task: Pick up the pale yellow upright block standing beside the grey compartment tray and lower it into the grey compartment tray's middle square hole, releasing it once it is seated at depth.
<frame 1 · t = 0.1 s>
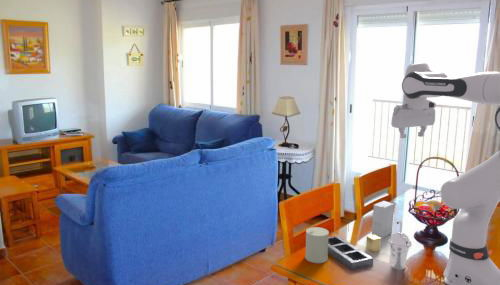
hand: (412, 137, 178), 48 cm above the table, fingers open, 8 cm apart
cup with straw: (397, 267, 168), on the table
grey compartment tray: (344, 255, 179), on the table
pale yellow upright block: (372, 250, 183), on the table
can: (316, 258, 176), on the table
skincare box: (381, 234, 200), on the table
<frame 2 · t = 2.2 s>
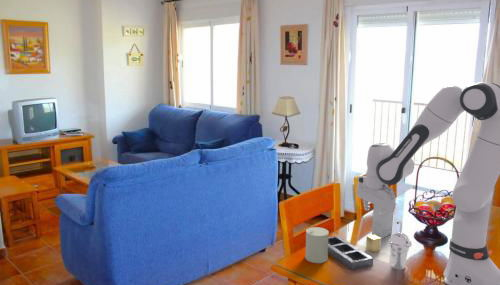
hand: (374, 213, 180), 16 cm above the table, fingers open, 8 cm apart
nothing on the table moved.
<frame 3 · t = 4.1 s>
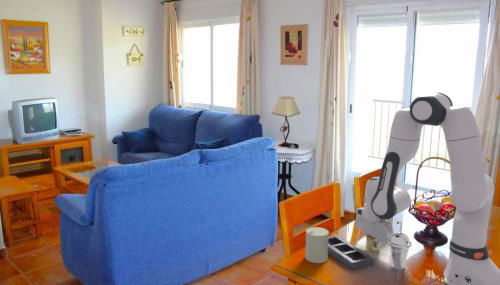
hand: (373, 245, 183), 2 cm above the table, fingers closed on pale yellow upright block, 4 cm apart
pale yellow upright block: (372, 250, 183), on the table, touching gripper
everything else where it was.
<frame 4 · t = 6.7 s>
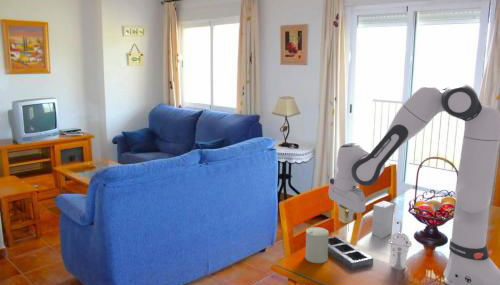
hand: (345, 216, 175), 17 cm above the table, fingers closed on pale yellow upright block, 4 cm apart
pale yellow upright block: (345, 221, 176), point 15 cm above the table, touching gripper
everything else where it was.
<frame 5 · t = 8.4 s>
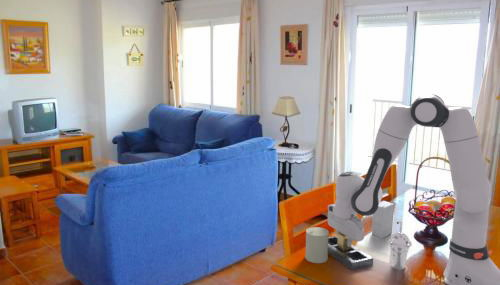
hand: (344, 243, 178), 5 cm above the table, fingers closed on pale yellow upright block, 4 cm apart
pale yellow upright block: (344, 248, 178), point 3 cm above the table, touching gripper
everything else where it was.
when the fingers open (5 cm above the table, at t = 9.3 s): pale yellow upright block drops 3 cm, resting in grey compartment tray.
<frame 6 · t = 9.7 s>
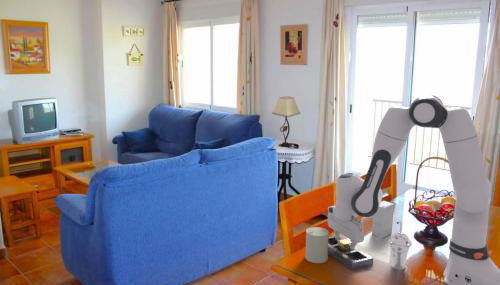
hand: (344, 244, 178), 5 cm above the table, fingers open, 8 cm apart
pale yellow upright block: (344, 255, 178), resting in grey compartment tray
everything else where it was.
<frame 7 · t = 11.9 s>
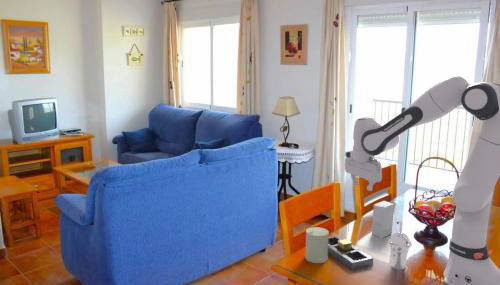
hand: (362, 187, 183), 26 cm above the table, fingers open, 8 cm apart
nothing on the table moved.
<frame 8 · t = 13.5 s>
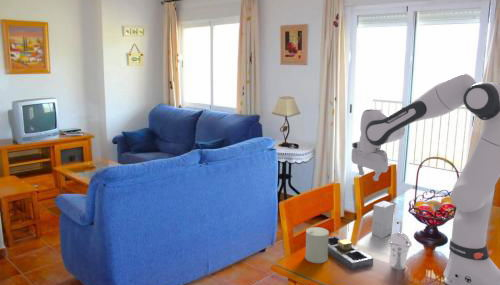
hand: (368, 177, 187), 29 cm above the table, fingers open, 8 cm apart
nothing on the table moved.
at the end: pale yellow upright block 0.1 cm off-centre on the grey compartment tray, point 0.0 cm above the grey compartment tray's base; pale yellow upright block tilted 0°; the gripper is holding nothing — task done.
